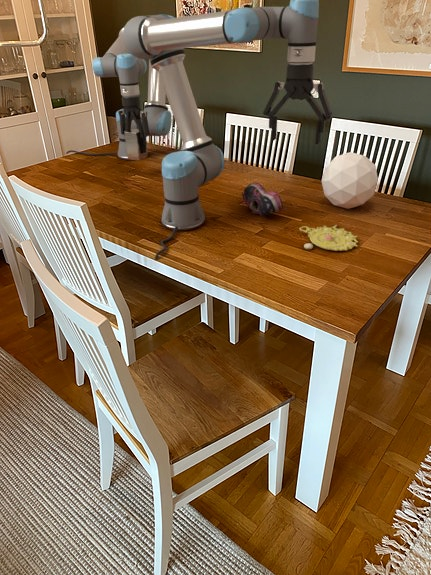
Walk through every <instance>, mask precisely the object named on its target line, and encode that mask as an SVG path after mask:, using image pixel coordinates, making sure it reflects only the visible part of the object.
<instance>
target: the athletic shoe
mask: <svg viewBox="0 0 431 575" xmlns="http://www.w3.org/2000/svg"><path fill="white" fill-rule="evenodd" d="M241 197H242V199H243V201H238V203H239V204H241V205H245V206H246V207H247V208H248V210H249V211H250V210H251V213H252V214H255V215H260V217H266V216H267V215H270V214H274V213H275V212H279V211H282V210H283V209H284V205H283V201H282V198H281V196H280V195H279V194H278V192H277V191H274V190H269V191H267V190H266V189H265V187H264V186H263V185H262V184H261V183H258V182H251V183H249V184H247V186H246V187H245V188H244V190H243V191H242V192H241Z"/></svg>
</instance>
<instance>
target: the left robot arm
mask: <svg viewBox="0 0 431 575" xmlns="http://www.w3.org/2000/svg"><path fill="white" fill-rule="evenodd" d="M124 28H125V25H124V26H123V27H122V28H121V29H120V30H119V33H118V37H117V38H116V40H115V41H114V42H113V43H112V45H111V46H110V47H109V49H108V50H107V51H106V52H105V53H104V55H103V56H102V57H101V56H98V57H94V58H93V60H92V64H91V66H92V71H93V73H94V75H95V76H96V77H97V78H118V80H119V87H120V88H119V89H120V95H121V96H122V97H121V103H122V107H123V108H121V109H119V110H117V111H116V112H115V122H116V127H117V135H118V141H119V142H118V150H117V151H116V152H103V153H88V152H84V151H79V150H78V151H77V150H72V149H71V150H67V152H66V153H65V155H68V154H70V153H76V154H80V155H85V156H106V155H107V156H108V155H110V156H111V155H117V158H118V159H119V160H123V161H131V160H130V159H128V155H127V148H126V140H125V133H124V132H125V131H128V130H131V129H138V130H139V133H140V136H141V137H140V146H141V153H142V154H143V153H145V152H146V145H147V142H148V141H147V137H165V136H167V135H168V134H169V133H170V132H171V129H172V123H173V119H172V117H173V116H172V115H173V114H172V111H170V110H169V106H167V104H166V99H167V95H166V93H165V90H164V87H163V84H162V81H161V78H160V75H159V72H158V71H157V70H155V69H154V68H152V66H151V63H150V60H149V59H148V64H147V61H146V59H139V58H136V57H134V56H133V55H132V54H130V53H129V51H128V50H127V49H126V47H125V44H124V41H123V31H124ZM147 70H148V82H147V102H146V103H145V104H144V106H143V110H142V108H141V105H142V104H141V96H140V86H139V85H140V84H139V77H141V76H143V75H144V74H145V73H147ZM147 146H148V145H147ZM147 153H148V154H149V152H148V150H147Z"/></svg>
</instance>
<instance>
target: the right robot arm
mask: <svg viewBox="0 0 431 575" xmlns="http://www.w3.org/2000/svg"><path fill="white" fill-rule="evenodd" d="M319 7H320V2H319V0H290V1H289V5H287V6H258V7H247V6H246V7H237V8H235V9H230V10H222V11H216V12H214V11H213V12H209V13H202V14H195V15H186V16H180V17H175V16H172V15H169V14H164V13H163V14H162V13H161V14H160V13H159V14H154V15H153V14H152V15H137V16H134V17H132V18H130V19H129V20H128V21H127V22H126V24H125V25H124V26H125V28H124V31H123V41H124V44H125V47H126V49H127V50H128V51H129V54H132V55H133V56H134V57H136V58H139V59H144V60H148V61H149V60H150V63H151V66H152V68H154V69H155V70H157V71H158V72H159V75H160V78H161V81H162V84H163V87H164V90H165V93H166V99H167V101H168V104H169V107H170V110H171V114H172V115H173V116H172V117H173V119H174V121H175V125H176V128H177V130H178V134H179V136H180V139H181V142H182V145H181V147H180V150H178V151H174V152H171V153H169V154H167V155H165V156H164V157H163V159H162V161H161V176H162V185H163V195H164V204H163V209H162V213H161V219H160V220H161V225H162V227H163V228H165V229H167V230H170V231H172V232H171V234H170V236H169V237H168V238H164V239H162V240H161V241H160V246H162V247H163V248H161V249H160V250H159V251H157V252H156V254H155V256H154V261H158V257H159V256H160V254H162V253H164V252H165V251H167V248H168V247H167V245H166V244H165V243H166V242H169V241H171V240H172V239H173V238H174V235H175V234H176V231H177V232H185V231H186V232H187V231H192V230H195V229H198V228H201V227H202V226H203V225H204V224H205V223H206V217H205V212H204V210H203V208H202V204H201V202H200V196H199V188H200V187H202V186H203V185H204V184H207V183H209V182H210V181H214V180H215V179H216V178H218V177H219V176H220V175H221V174H222V172H223V171H224V169H225V163H226V162H225V155H224V153H223V151H222V149H221V148H220V147H218V146H217V145H215V143H214V141H213V139H212V138H211V137H210V136H208V135H207V134H206V131H205V128H204V125H203V121H202V118H201V115H200V112H199V109H198V105H197V102H196V99H195V97H194V94H193V91H192V87H191V84H190V81H189V78H188V74H187V72H186V68H185V65H184V60H185V57H186V54H185V50H184V49H190V48H199V47H209V46H217V45H218V46H219V45H229V44H230V45H231V44H247V43H250V42H254V41H263V40H271V39H272V40H273V39H275V40H277V39H284V40H286V39H287V54H286V56H287V58H286V61H287V63H288V64H287V65H286V74H285V75H286V76H285V82H284V81H283V82H282V81H281V80H278V81H275V82H274V88H273V92H272V93H271V96H270V98H269V99H268V101H267V103H266V106H265V108H264V110H263V112H262V114H263V115H264V116H267V117H268V128H269V129H271V137H270V138H271V139H270V140H271V141H273V142H274V141H275V140H277V134H278V116H276V115H277V114H278V112H279V111H280V110H281V109H282V108H283V106H284V105H285V104H286V103H287V102H288V101H289V99H291V100H293V101H294V100H300V101H303V100H305V101H306V102H307V103H308V104H309V106H310V107H311V109H312V110H313V112H314V113H315V115H316V116H317V117H318V119H317V121H316V129H315V130H316V131H315V141H314V145H319V144H320V143H321V135H322V134H321V133H324V132H325V129H326V128H325V127H326V121H327V120H330V119H332V118H333V115H334V114H333V112H332V109H331V106H330V103H329V100H328V97H327V95H326V92H325V83H324V82H323V81H322V82H319V83H314V72H315V64H314V62H315V61H316V48H317V35H318V27H319V26H318V24H319V18H320V16H319ZM283 89H284V90H285V92H286V93H285V94H284V95H283V96H282V99H280V101H278V103H277V104H276V105H275V106H274V104H275V102H276V100H277V98H278V96H279V93H280V92H281V91H282V90H283ZM314 89H315V92H316V93H317V95H318V98H319V101H320V103H321V106H322V108H321V106H320V104H318V102H317V101H316V99H315V97H314V95H313V93H312V91H313V90H314ZM273 106H274V107H273ZM272 108H273V109H272ZM322 109H323V110H322Z"/></svg>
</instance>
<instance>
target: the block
mask: <svg viewBox="0 0 431 575" xmlns="http://www.w3.org/2000/svg"><path fill="white" fill-rule="evenodd" d="M124 133H125V140H126V148H127V155H128V159H130V160H129V161H138V162H140V161H142V160H144V159H147V158H148V157H149V152H148V153H147V151H148V145H146V152H145V153H143V154H142V153H141V146H140V137H141V136H140V133H139V130H138V129H131V130H128V131H125V132H124Z"/></svg>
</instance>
